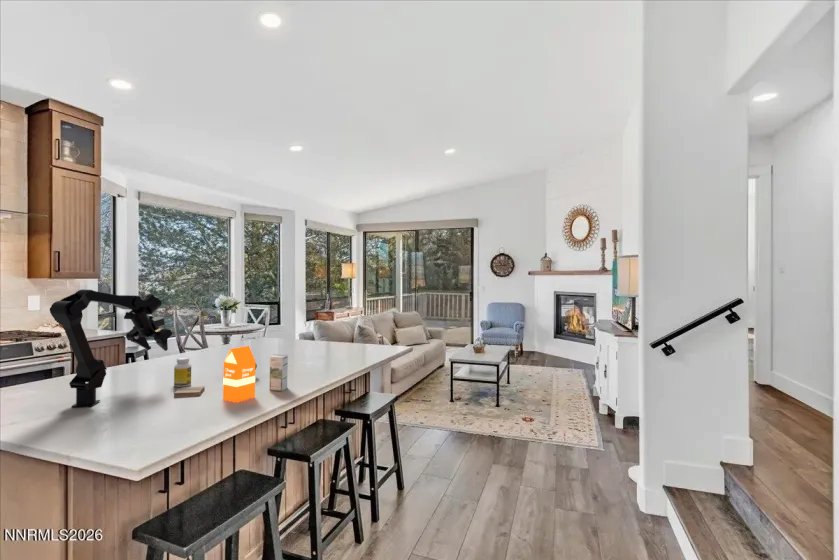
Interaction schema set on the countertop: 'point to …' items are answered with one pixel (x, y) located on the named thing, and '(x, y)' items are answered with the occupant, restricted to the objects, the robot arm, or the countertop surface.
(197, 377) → the countertop surface
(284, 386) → the syrup box
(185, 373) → the pill bottle
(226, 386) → the orange juice
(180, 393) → the base tile
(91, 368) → the robot arm
